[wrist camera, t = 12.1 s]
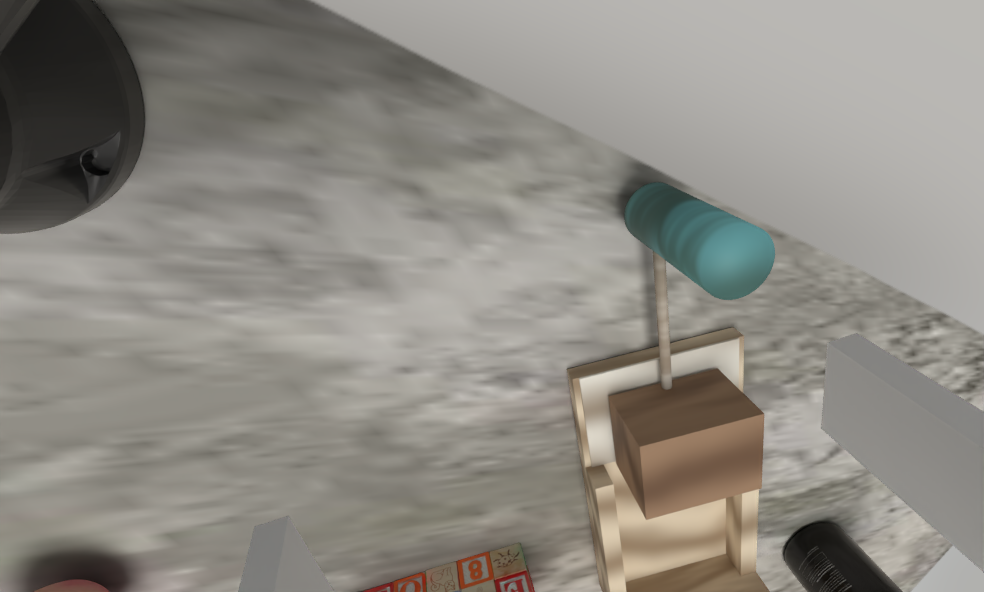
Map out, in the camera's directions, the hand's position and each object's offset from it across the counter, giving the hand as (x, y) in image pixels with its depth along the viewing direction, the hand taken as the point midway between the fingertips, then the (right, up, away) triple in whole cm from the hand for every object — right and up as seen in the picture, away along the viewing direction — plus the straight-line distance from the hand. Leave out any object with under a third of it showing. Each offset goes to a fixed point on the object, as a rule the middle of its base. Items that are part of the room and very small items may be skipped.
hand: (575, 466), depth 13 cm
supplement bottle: (+32, -22, +44) cm, 58 cm away
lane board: (+13, -12, +36) cm, 40 cm away
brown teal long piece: (+11, +1, +27) cm, 29 cm away
